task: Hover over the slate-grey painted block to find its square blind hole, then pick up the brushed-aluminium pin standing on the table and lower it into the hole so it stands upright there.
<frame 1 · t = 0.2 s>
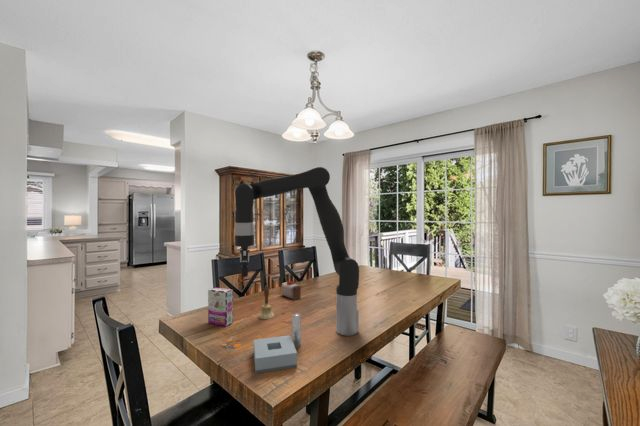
hand: (244, 274, 112), 29 cm above the table, fingers open, 8 cm apart
food item: (291, 297, 176), on the table
candy bar box: (220, 323, 134), on the table
key chain: (229, 345, 113), on the table
pin: (296, 344, 112), on the table
hand bell: (266, 316, 143), on the table
bore block: (274, 359, 101), on the table
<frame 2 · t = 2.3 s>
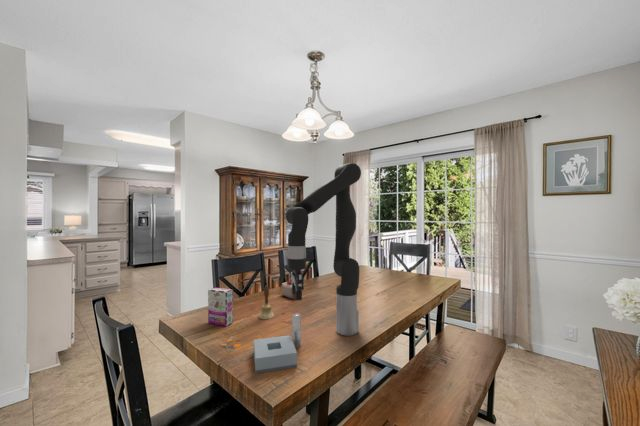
hand: (296, 296, 112), 19 cm above the table, fingers open, 8 cm apart
nothing on the table moved.
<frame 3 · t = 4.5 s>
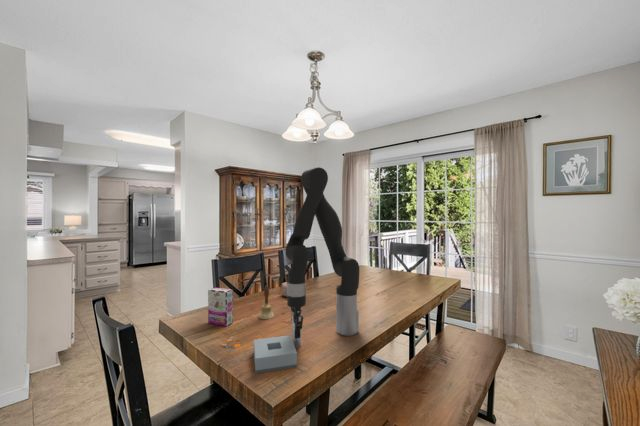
hand: (296, 335, 112), 4 cm above the table, fingers closed on pin, 3 cm apart
pin: (296, 344, 112), on the table, touching gripper
everything else where it was.
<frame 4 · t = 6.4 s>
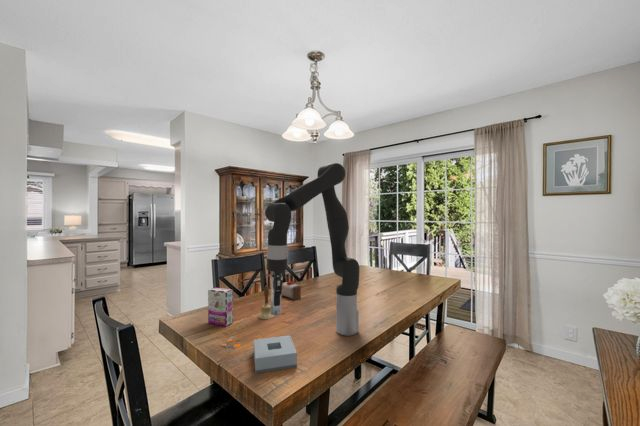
hand: (276, 303, 102), 20 cm above the table, fingers closed on pin, 3 cm apart
pin: (275, 313, 102), point 16 cm above the table, touching gripper
everything else where it was.
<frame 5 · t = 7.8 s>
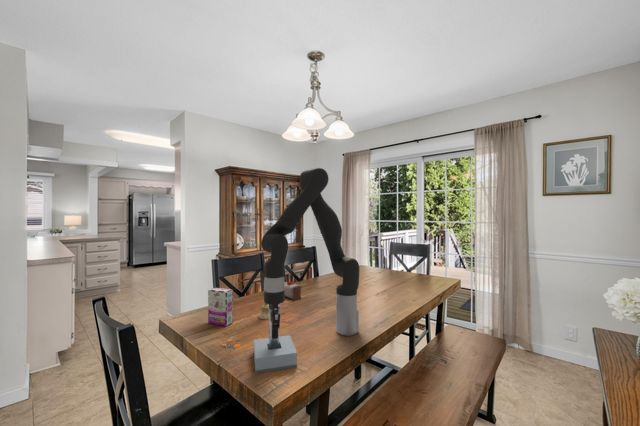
hand: (274, 335, 101), 9 cm above the table, fingers closed on pin, 3 cm apart
pin: (274, 345, 101), point 5 cm above the table, touching gripper
everything else where it was.
when the fingers open (6 cm above the table, at t = 8.7 s): pin stays where it is, resting on bore block.
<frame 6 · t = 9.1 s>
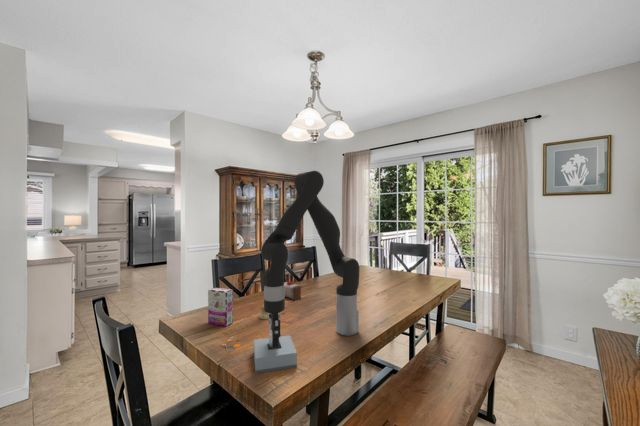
hand: (274, 342, 101), 6 cm above the table, fingers open, 7 cm apart
pin: (274, 356, 101), point 1 cm above the table, touching bore block
everything else where it was.
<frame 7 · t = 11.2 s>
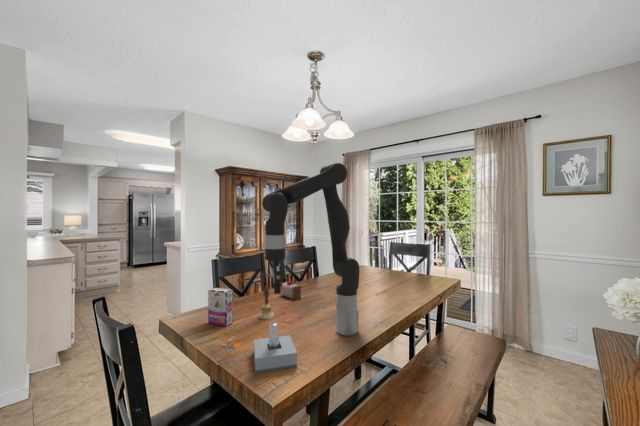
hand: (275, 290, 104), 25 cm above the table, fingers open, 8 cm apart
nothing on the table moved.
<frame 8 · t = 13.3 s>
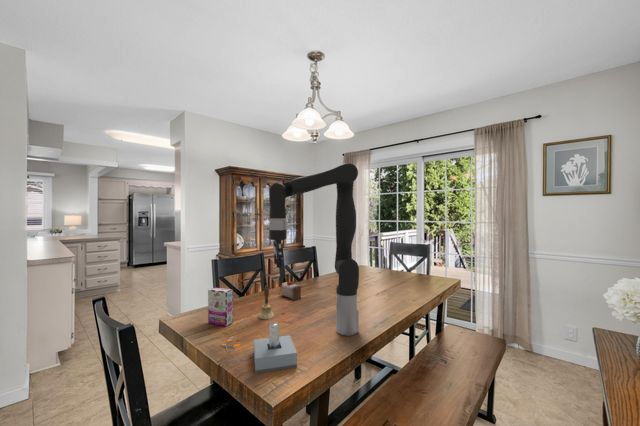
hand: (277, 265, 122), 30 cm above the table, fingers open, 8 cm apart
nothing on the table moved.
at the end: pin 0.0 cm off-centre on the bore block, point 1.0 cm above the bore block's base; pin tilted 0°; the gripper is holding nothing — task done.
